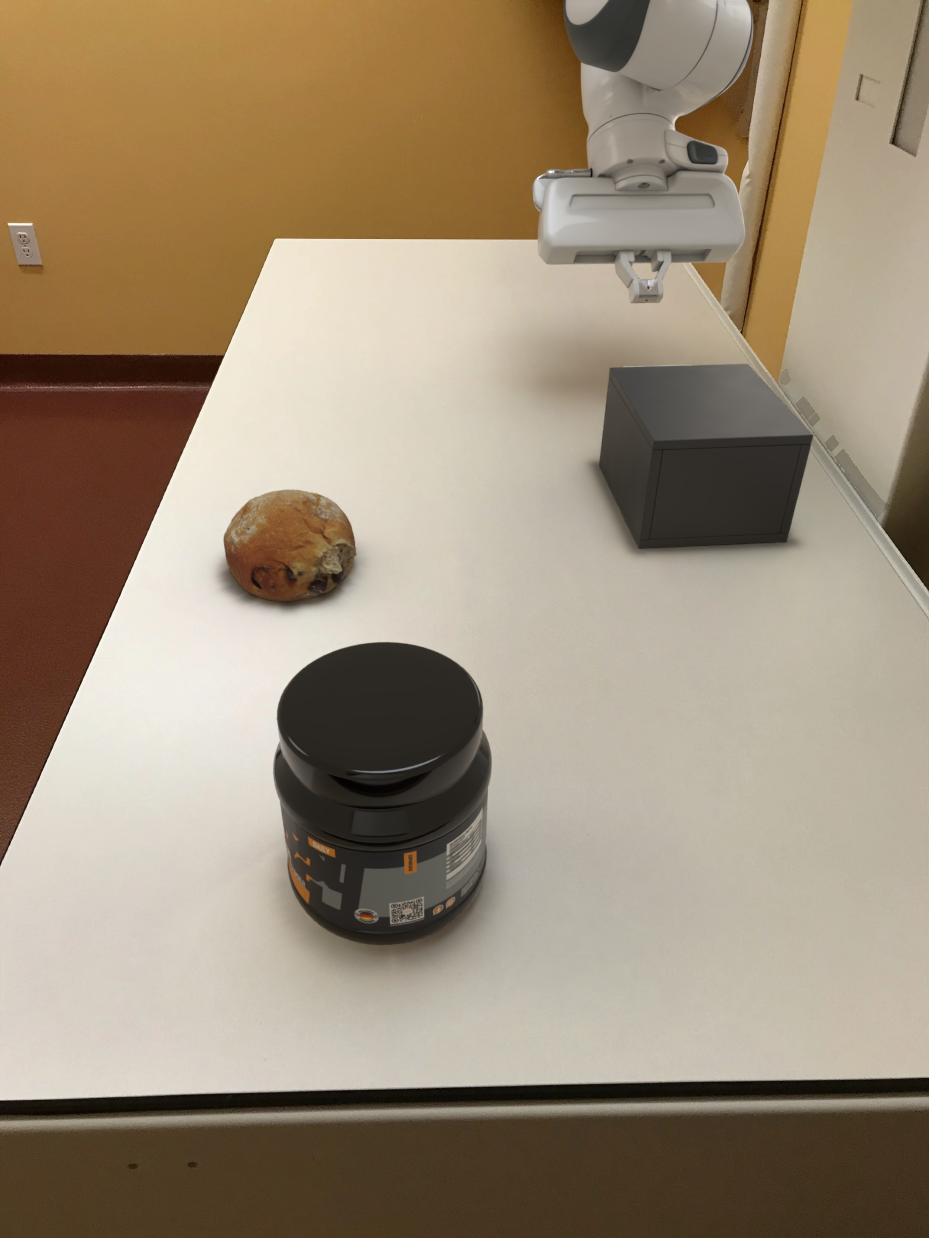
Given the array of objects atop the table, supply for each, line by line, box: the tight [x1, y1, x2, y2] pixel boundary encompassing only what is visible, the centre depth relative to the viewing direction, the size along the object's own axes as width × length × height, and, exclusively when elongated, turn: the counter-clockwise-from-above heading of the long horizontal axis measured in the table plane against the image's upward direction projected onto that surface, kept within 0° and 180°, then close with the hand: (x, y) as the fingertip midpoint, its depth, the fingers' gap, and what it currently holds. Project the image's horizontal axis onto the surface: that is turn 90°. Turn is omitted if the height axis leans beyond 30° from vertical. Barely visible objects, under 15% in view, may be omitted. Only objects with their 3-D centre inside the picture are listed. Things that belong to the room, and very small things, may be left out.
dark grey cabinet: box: [598, 363, 814, 549], centre depth 82 cm, size 15×13×10 cm
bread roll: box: [223, 488, 357, 602], centre depth 74 cm, size 10×10×8 cm
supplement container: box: [272, 641, 493, 946], centre depth 48 cm, size 10×10×12 cm
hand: (646, 300), depth 93 cm, fingers closed
